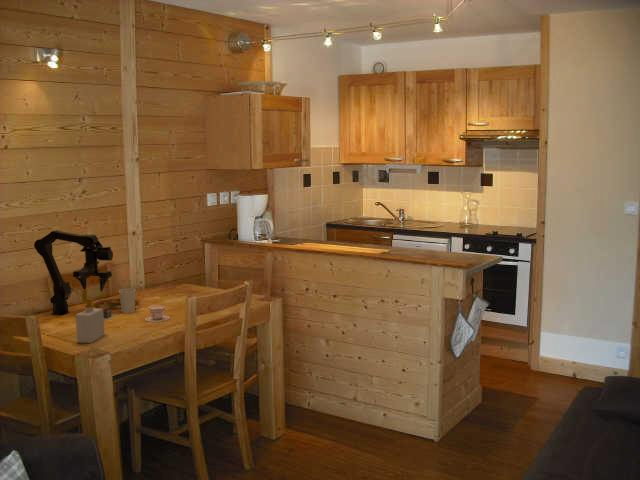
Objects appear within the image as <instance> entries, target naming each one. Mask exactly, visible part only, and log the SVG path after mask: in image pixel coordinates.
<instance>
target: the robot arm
mask: <svg viewBox="0 0 640 480" xmlns="http://www.w3.org/2000/svg"><path fill="white" fill-rule="evenodd" d="M57 240H58V241H65V242H71V243H76V244H78V245H80V246H81V247H82V249H80V252H81V253H84V258H85V262H84V263H83V267H81V269H77V270H74V271H73V272H72V278H75V280H78V281H79V282H80V285H81V287H82V290H85V289H87V279H88V278H90V277H98V280H99V288H100V292H103V291H104V288H105V287H106V283H107V281H108V280H109V279H110V278H111V277H112V276H113V273H112V271H111V270H103V271H100V269H99V264H100V261H108V262H109V261H113V258H114V252H113V250H112V249H111V248H112V247H111V246H103V244H102V243H101V242H100V241H99V238H98V237H97V235H95V234H78V233H72V232H66V231H62V230H58V229H56V230H55V229H54V230H52V231H50V232H49V233H48V234H46V235H45V236H43V237H41V238H39V239H37V240H35V241H34V243H33V247H34V249H35V251H36V253H38V255H39V256H41V258H42V260H43V261H44V264H45V267H46V269H47V272H48V273H49V276H50V278H51V281H52V283H53V287H52V290H53V295H52V296H51V298H49V301H50V303H51V304H52V312H51V313H50V314H51V315H58V316H63V315H66V314H68V313H70V310H69V304H68V301H67V300H69V297H70V296H71V294H72V290H73V289H72V287H71V285H70V282H69V281H65V280H64V279H63V276H62V274H61V271H60V270H59V267H58V265H57V261H56V259H55V257H54V255H53V243H54V242H56V241H57Z"/></svg>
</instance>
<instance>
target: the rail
mask: <svg viewBox="0 0 640 480" xmlns="http://www.w3.org/2000/svg"><path fill="white" fill-rule="evenodd" d="M98 309H103V316H105V312H107V311H109V308H108V307H107V306H100V307H98Z"/></svg>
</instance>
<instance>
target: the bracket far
mask: <svg viewBox="0 0 640 480" xmlns="http://www.w3.org/2000/svg"><path fill="white" fill-rule="evenodd" d="M111 315H112V310H111V309H108V311H107V312H105V316H103V317H104V318H109V317H111Z"/></svg>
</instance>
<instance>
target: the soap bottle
mask: <svg viewBox="0 0 640 480" xmlns="http://www.w3.org/2000/svg"><path fill="white" fill-rule="evenodd" d="M92 288H93V287H92V286H91V287H88V288H87V287H86V289H85V290H84V289H82V290H81V298H82V299H81V300H82V301H84V302H85V303H86V304H85V305H84V308H85V310H83V311H81V312H78V313H76V314H75V326H76V341H77V343H80V344H82V343H84V344H91V343H93V342H95V341H97V340H99V339H101V338H103V337H104V336H105V321H104V317H103V309H98V308H99V307H98V308H95V307H94V304H92V303H93V300H95V299H94V298H88V296H87V294H88V293H87V290H90V289H92Z"/></svg>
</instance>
